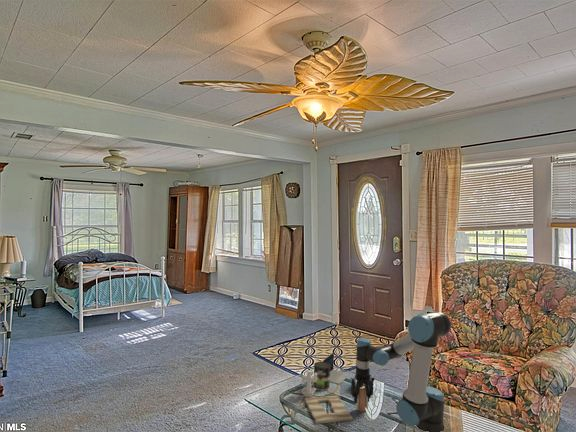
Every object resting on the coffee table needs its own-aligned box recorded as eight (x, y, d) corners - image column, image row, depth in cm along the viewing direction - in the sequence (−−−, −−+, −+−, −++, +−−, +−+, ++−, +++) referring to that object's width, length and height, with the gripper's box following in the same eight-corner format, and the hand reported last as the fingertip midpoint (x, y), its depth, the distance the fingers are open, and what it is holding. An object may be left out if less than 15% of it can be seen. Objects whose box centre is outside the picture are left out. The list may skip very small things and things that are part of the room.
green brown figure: (328, 392, 233) (328, 369, 233) (311, 389, 236) (312, 366, 236) (331, 384, 243) (331, 362, 242) (315, 382, 246) (316, 360, 245)
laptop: (339, 385, 243) (340, 364, 243) (322, 380, 249) (322, 360, 249) (349, 374, 259) (350, 355, 258) (332, 370, 265) (333, 351, 265)
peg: (366, 411, 211) (366, 390, 211) (359, 412, 211) (360, 390, 210) (363, 407, 215) (364, 386, 215) (356, 408, 214) (357, 387, 214)
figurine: (303, 391, 233) (304, 367, 232) (318, 394, 229) (318, 370, 229) (299, 396, 226) (300, 371, 226) (314, 400, 222) (315, 374, 222)
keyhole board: (352, 420, 202) (352, 417, 202) (316, 423, 198) (316, 421, 198) (337, 398, 226) (337, 395, 226) (304, 400, 221) (304, 398, 221)
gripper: (374, 363, 218) (373, 403, 218) (345, 365, 214) (344, 405, 215) (380, 368, 211) (379, 410, 211) (350, 370, 207) (348, 412, 207)
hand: (361, 407), depth 213 cm, fingers open, 5 cm apart
